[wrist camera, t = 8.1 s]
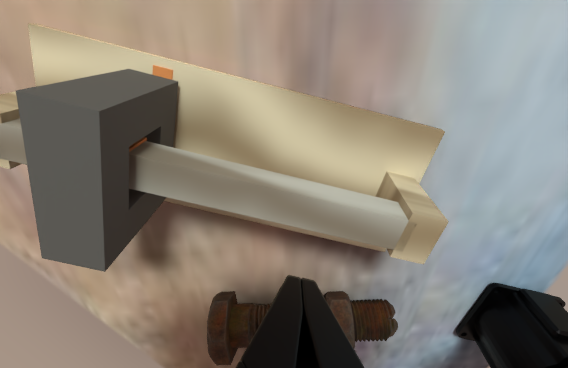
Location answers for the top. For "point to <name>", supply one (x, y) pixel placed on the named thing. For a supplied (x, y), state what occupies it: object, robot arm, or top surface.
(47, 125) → the grey square collar
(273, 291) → the top surface
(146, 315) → the top surface
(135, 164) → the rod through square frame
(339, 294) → the bolt
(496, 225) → the top surface
